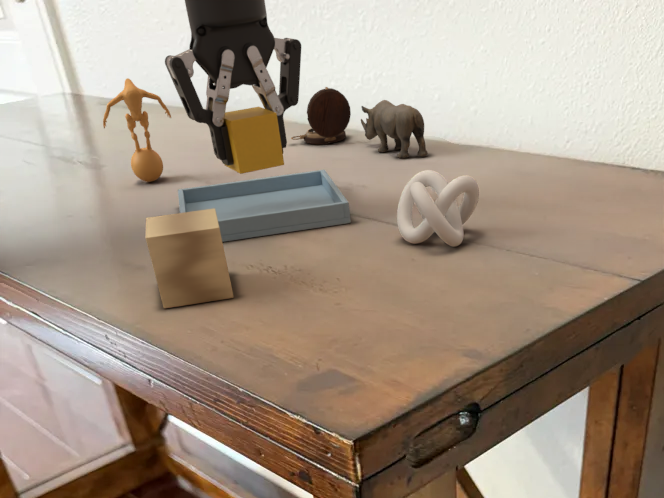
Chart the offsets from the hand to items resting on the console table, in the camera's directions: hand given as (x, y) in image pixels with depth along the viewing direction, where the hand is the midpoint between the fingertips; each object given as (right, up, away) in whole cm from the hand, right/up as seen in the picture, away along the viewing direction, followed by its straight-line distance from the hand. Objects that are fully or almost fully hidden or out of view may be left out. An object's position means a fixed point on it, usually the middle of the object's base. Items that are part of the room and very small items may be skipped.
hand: (252, 158), depth 86 cm
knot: (+20, -11, -7) cm, 24 cm away
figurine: (-16, +5, +19) cm, 26 cm away
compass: (+4, +17, +31) cm, 36 cm away
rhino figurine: (+15, +12, +24) cm, 30 cm away
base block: (-2, -19, -14) cm, 23 cm away
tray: (0, -5, +4) cm, 6 cm away
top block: (0, -1, 0) cm, 1 cm away
